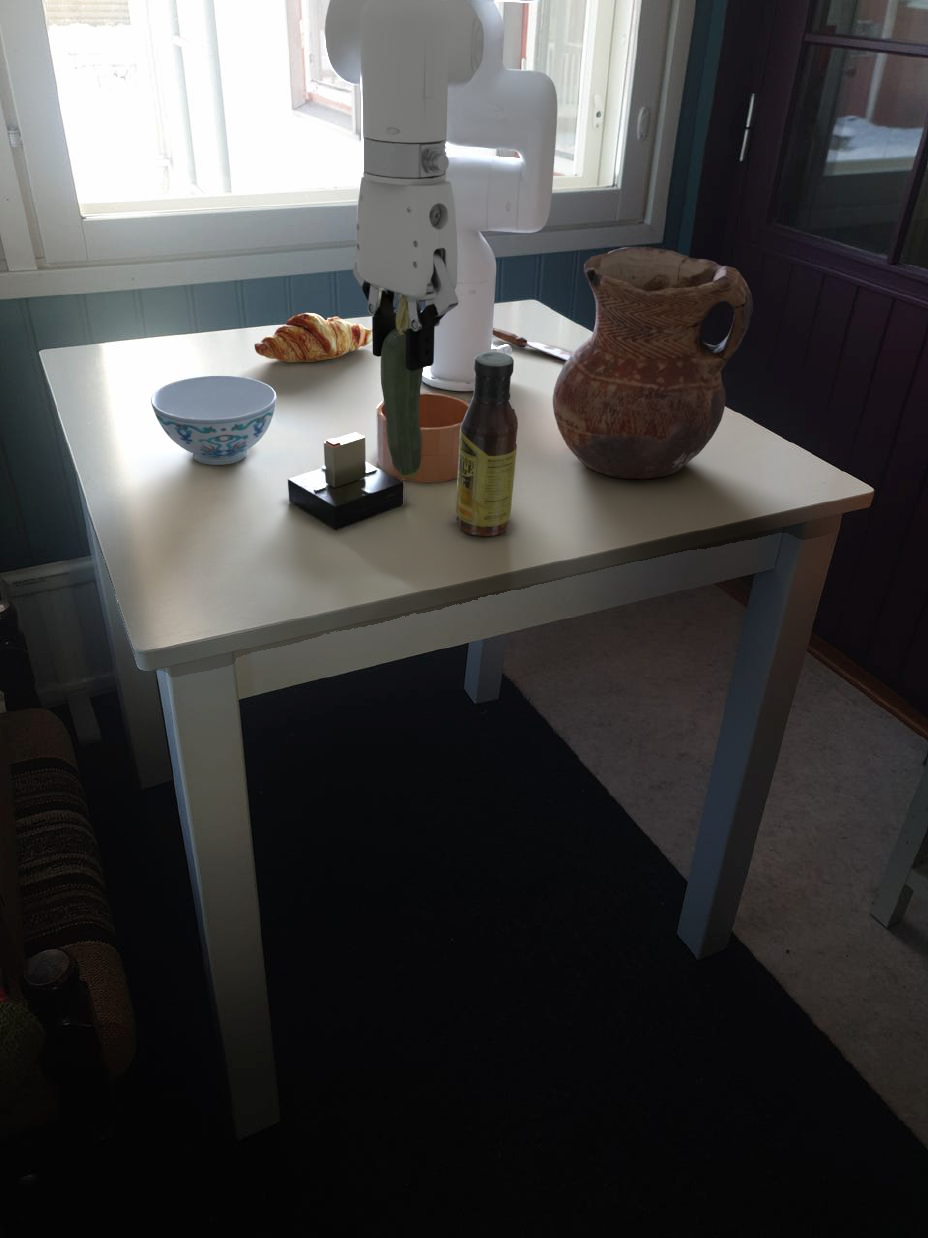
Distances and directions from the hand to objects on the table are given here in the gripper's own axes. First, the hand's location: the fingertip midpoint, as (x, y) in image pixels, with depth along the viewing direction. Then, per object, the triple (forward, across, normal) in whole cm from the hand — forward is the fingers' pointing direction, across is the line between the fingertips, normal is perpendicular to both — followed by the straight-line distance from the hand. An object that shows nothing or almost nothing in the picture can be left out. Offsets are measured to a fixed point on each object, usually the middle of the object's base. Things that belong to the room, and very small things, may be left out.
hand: (402, 358), depth 96 cm
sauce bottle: (+20, -4, -8) cm, 22 cm away
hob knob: (+17, +10, 0) cm, 20 cm away
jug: (+20, -3, -37) cm, 42 cm away
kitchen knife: (+20, +34, -61) cm, 73 cm away
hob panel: (+20, +10, 0) cm, 22 cm away
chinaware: (+20, +31, +4) cm, 37 cm away
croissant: (+20, +55, -29) cm, 65 cm away
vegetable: (+14, 0, 0) cm, 14 cm away
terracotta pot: (+20, +13, -15) cm, 28 cm away
